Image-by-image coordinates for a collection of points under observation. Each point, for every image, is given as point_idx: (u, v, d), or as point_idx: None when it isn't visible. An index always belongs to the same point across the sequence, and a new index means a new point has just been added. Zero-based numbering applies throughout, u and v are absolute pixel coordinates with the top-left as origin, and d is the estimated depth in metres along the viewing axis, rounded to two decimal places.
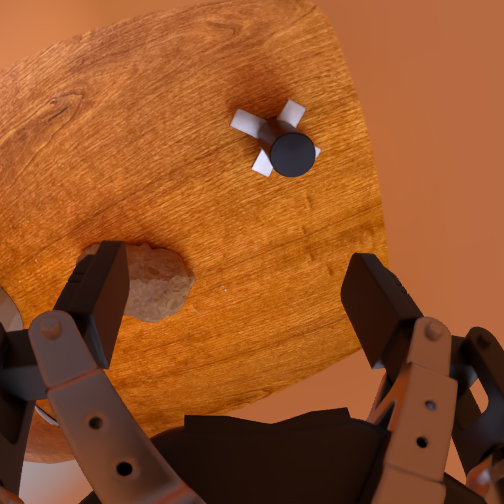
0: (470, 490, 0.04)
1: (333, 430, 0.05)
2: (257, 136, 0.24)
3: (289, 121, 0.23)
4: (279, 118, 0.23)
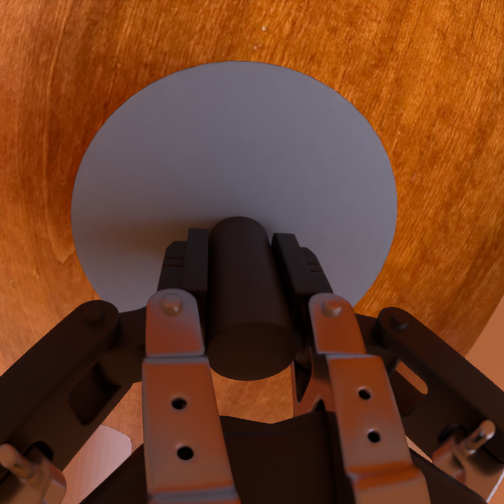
0: (451, 491, 0.04)
1: None
2: None
3: None
4: None
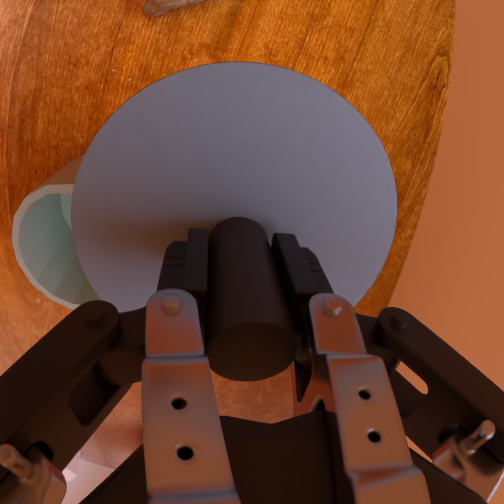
0: (451, 491, 0.04)
1: None
2: None
3: None
4: None
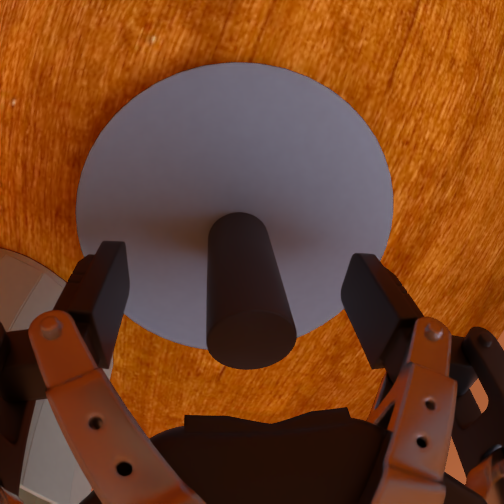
0: (470, 490, 0.04)
1: (333, 430, 0.05)
2: None
3: None
4: None
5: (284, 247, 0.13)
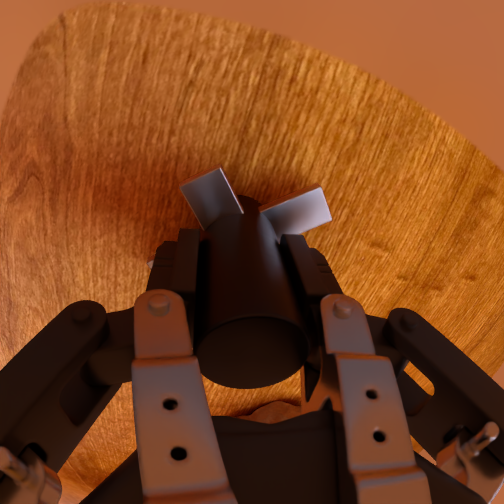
0: (453, 491, 0.04)
1: (333, 430, 0.05)
2: None
3: (222, 213, 0.11)
4: (204, 226, 0.11)
5: None
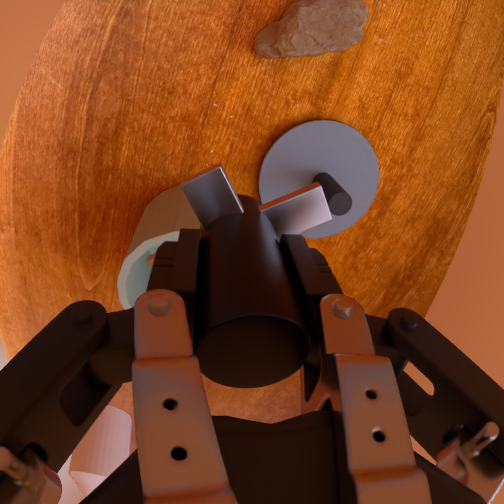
0: (453, 491, 0.04)
1: (333, 430, 0.05)
2: None
3: (222, 212, 0.11)
4: (203, 225, 0.11)
5: None
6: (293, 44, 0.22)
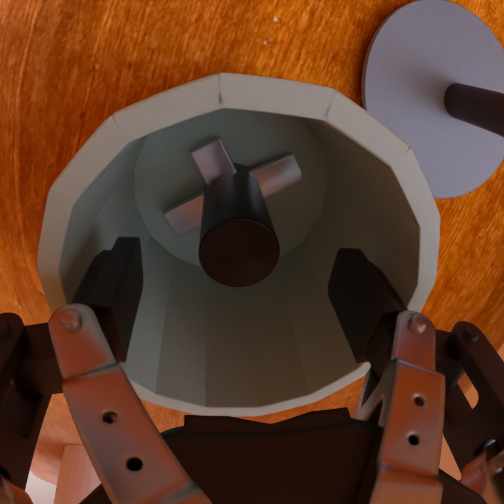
0: (467, 489, 0.04)
1: (333, 430, 0.05)
2: None
3: (221, 172, 0.15)
4: (207, 182, 0.15)
5: None
6: None
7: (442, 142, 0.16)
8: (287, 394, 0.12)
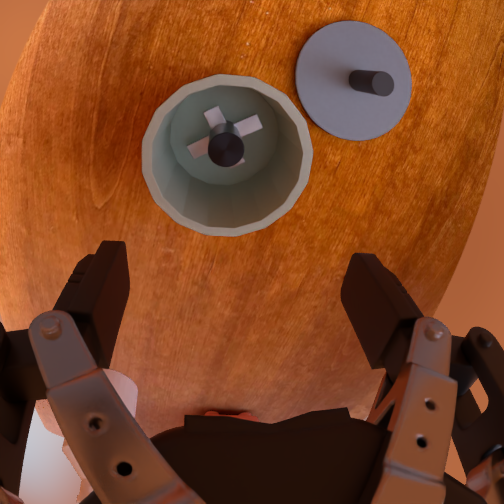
0: (470, 490, 0.04)
1: (333, 430, 0.05)
2: None
3: (218, 122, 0.28)
4: (211, 127, 0.29)
5: None
6: None
7: (350, 106, 0.30)
8: (250, 221, 0.26)
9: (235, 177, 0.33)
